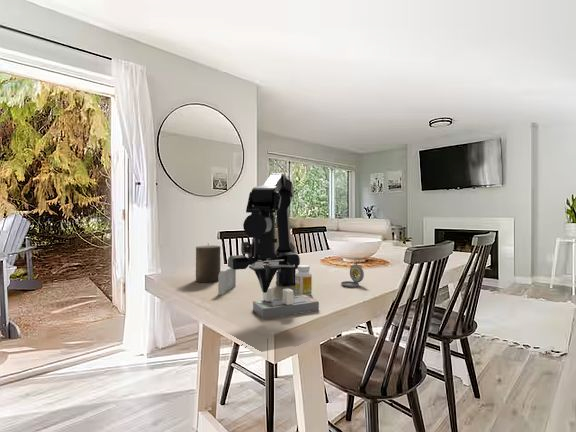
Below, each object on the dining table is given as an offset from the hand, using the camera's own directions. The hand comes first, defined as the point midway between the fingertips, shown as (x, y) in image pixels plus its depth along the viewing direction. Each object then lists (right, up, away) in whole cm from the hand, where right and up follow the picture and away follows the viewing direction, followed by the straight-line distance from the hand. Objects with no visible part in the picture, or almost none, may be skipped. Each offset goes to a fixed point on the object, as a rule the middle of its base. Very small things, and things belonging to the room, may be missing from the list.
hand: (264, 292), depth 88 cm
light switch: (-15, -6, +28) cm, 32 cm away
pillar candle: (-26, -6, +44) cm, 51 cm away
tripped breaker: (+6, -4, +3) cm, 8 cm away
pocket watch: (+31, -6, +36) cm, 48 cm away
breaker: (+1, -4, +6) cm, 7 cm away
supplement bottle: (+12, -6, +23) cm, 26 cm away
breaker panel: (+6, -6, +5) cm, 10 cm away
